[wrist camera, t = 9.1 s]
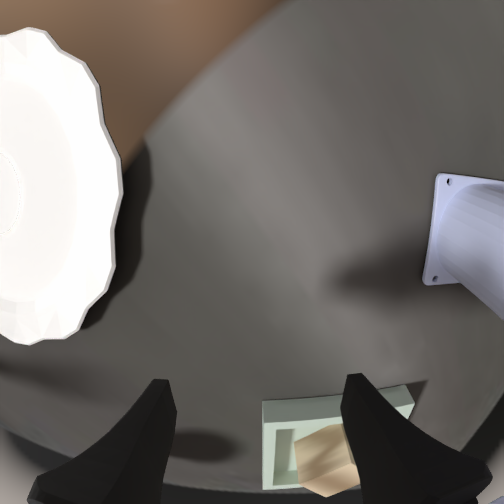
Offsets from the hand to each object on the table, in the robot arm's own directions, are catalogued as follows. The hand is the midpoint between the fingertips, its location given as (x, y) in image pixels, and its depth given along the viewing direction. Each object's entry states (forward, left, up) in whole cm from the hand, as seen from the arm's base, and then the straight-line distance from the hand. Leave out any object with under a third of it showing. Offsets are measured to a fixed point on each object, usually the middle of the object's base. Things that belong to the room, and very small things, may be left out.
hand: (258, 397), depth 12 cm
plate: (+20, -8, -10) cm, 24 cm away
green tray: (-7, +17, -9) cm, 21 cm away
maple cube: (-7, +17, -9) cm, 20 cm away
